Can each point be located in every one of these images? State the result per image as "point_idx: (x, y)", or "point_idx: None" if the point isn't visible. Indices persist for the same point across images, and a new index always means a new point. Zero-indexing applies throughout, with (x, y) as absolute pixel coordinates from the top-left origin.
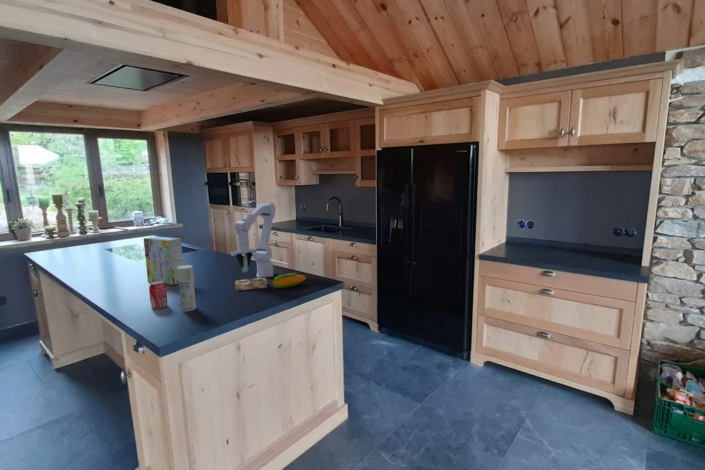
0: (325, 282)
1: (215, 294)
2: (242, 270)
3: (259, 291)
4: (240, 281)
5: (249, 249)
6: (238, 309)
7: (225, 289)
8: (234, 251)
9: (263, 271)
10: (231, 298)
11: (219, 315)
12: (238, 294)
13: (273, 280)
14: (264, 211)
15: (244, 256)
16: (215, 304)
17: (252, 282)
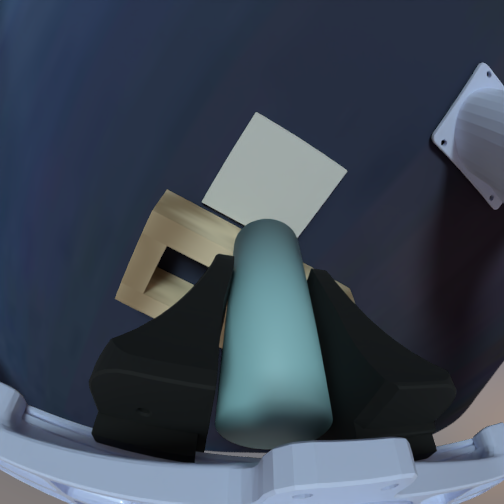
0: (445, 413)
1: (27, 229)
2: (234, 247)
3: None
4: (180, 250)
5: (461, 480)
6: (78, 403)
7: (91, 187)
8: (32, 470)
9: (487, 180)
10: (77, 332)
11: (30, 389)
12: (118, 319)
13: None
14: None
15: (242, 442)
16: (19, 331)
17: (222, 339)
